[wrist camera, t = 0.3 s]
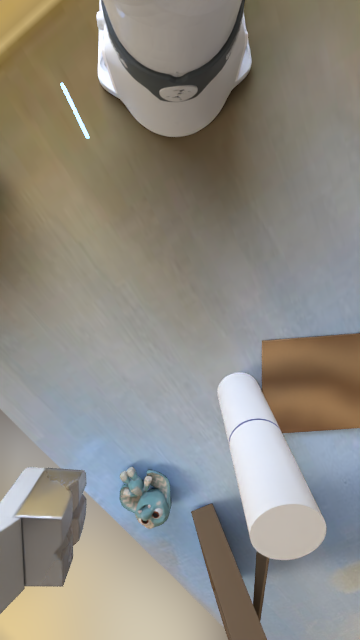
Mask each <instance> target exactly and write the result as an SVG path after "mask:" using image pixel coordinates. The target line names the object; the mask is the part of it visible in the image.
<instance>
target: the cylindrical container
mask: <svg viewBox="0 0 360 640" xmlns="http://www.w3.org/2000/svg"><path fill="white" fill-rule="evenodd" d="M217 394H218V398H219V403H220V407H221V412H222V416H223V421H224V425H225V429H226V434H227V438H228V443H229V447H230V452H231V456H232V460H233V465H234V469H235V474H236V478H237V482H238V487H239V491H240V496H241V500H242V505H243V509H244V513H245V518H246V522H247V527H248V531H249V536H250V540H251V543H252V545H253V547H254V548H255V549H256V550H257V551H258V552H259V553H260V554H262V555H264V556H266V557H268V558H272V559H276V560H291V559H297V558H300V557H303V556H305V555H307V554H309V553H311V552H312V551H314V550H315V549H316V548H317V547H318V546H319V545H320V544H321V543H322V541H323V540H324V537H325V535H326V523H325V520H324V518H323V516H322V514H321V512H320V510H319V508H318V506H317V504H316V501H315V499H314V497H313V495H312V493H311V491H310V489H309V487H308V485H307V483H306V481H305V479H304V477H303V475H302V473H301V471H300V469H299V467H298V465H297V463H296V460H295V458H294V456H293V454H292V452H291V450H290V448H289V446H288V444H287V442H286V440H285V438H284V436H283V434H282V432H281V430H280V428H279V426H278V424H277V422H276V419H275V417H274V415H273V413H272V411H271V409H270V407H269V405H268V403H267V401H266V399H265V397H264V395H263V393H262V391H261V389H260V387H259V385H258V383H257V381H256V380H255V378H253V377H252V376H251V375H249V374H246V373H241V372H240V373H233V374H230V375H228V376H226V377H225V378H224V379H223V380H222V381H221V382H220V384H219V386H218V390H217Z"/></svg>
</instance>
